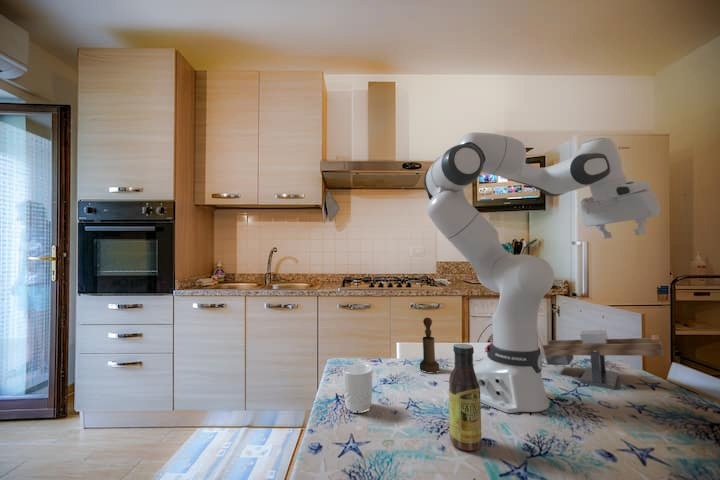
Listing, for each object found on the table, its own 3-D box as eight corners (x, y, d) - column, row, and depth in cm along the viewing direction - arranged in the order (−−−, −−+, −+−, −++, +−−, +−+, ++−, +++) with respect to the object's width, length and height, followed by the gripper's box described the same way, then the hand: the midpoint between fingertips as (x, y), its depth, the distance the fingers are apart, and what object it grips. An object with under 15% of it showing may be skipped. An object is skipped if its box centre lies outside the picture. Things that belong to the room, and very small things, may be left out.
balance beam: (547, 365, 101) (541, 343, 102) (553, 357, 108) (548, 337, 110) (668, 367, 82) (659, 340, 83) (666, 358, 89) (658, 333, 91)
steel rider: (584, 349, 96) (580, 334, 97) (587, 345, 100) (583, 330, 101) (608, 349, 92) (603, 333, 93) (610, 344, 96) (605, 330, 97)
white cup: (377, 404, 83) (376, 365, 83) (366, 417, 75) (364, 375, 76) (351, 399, 86) (350, 362, 87) (337, 412, 79) (337, 371, 80)
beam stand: (580, 382, 93) (578, 350, 94) (587, 370, 103) (585, 341, 104) (614, 389, 88) (611, 355, 88) (618, 375, 98) (615, 345, 99)
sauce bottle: (464, 456, 60) (459, 351, 61) (443, 439, 65) (439, 344, 67) (490, 447, 62) (484, 347, 64) (467, 432, 68) (463, 340, 69)
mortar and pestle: (442, 369, 108) (439, 316, 109) (435, 375, 102) (433, 320, 104) (423, 366, 111) (421, 315, 113) (417, 371, 106) (415, 318, 107)
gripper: (571, 201, 102) (583, 242, 101) (639, 185, 82) (654, 235, 81) (586, 197, 103) (598, 237, 103) (656, 180, 83) (671, 229, 83)
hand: (623, 236), depth 92 cm, fingers open, 8 cm apart
